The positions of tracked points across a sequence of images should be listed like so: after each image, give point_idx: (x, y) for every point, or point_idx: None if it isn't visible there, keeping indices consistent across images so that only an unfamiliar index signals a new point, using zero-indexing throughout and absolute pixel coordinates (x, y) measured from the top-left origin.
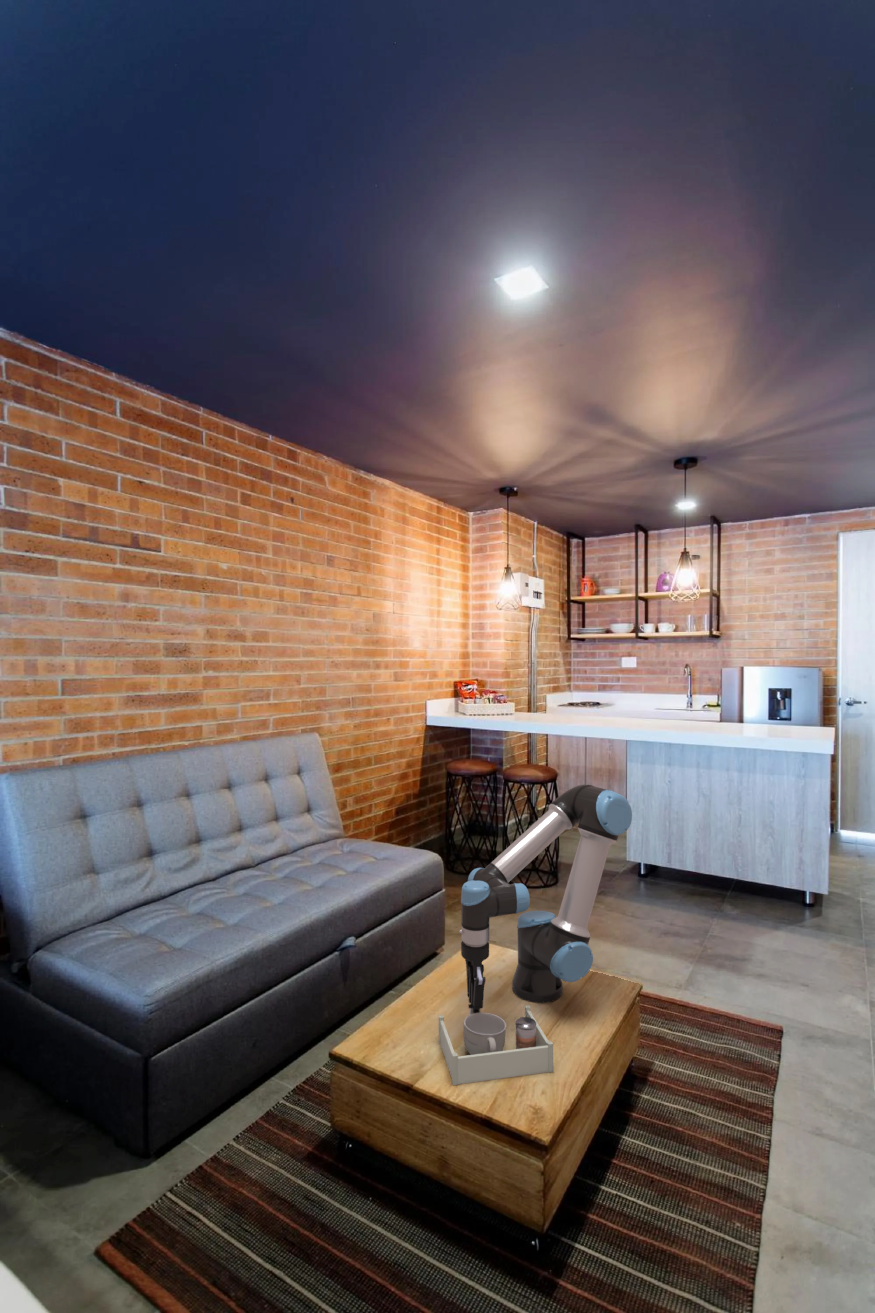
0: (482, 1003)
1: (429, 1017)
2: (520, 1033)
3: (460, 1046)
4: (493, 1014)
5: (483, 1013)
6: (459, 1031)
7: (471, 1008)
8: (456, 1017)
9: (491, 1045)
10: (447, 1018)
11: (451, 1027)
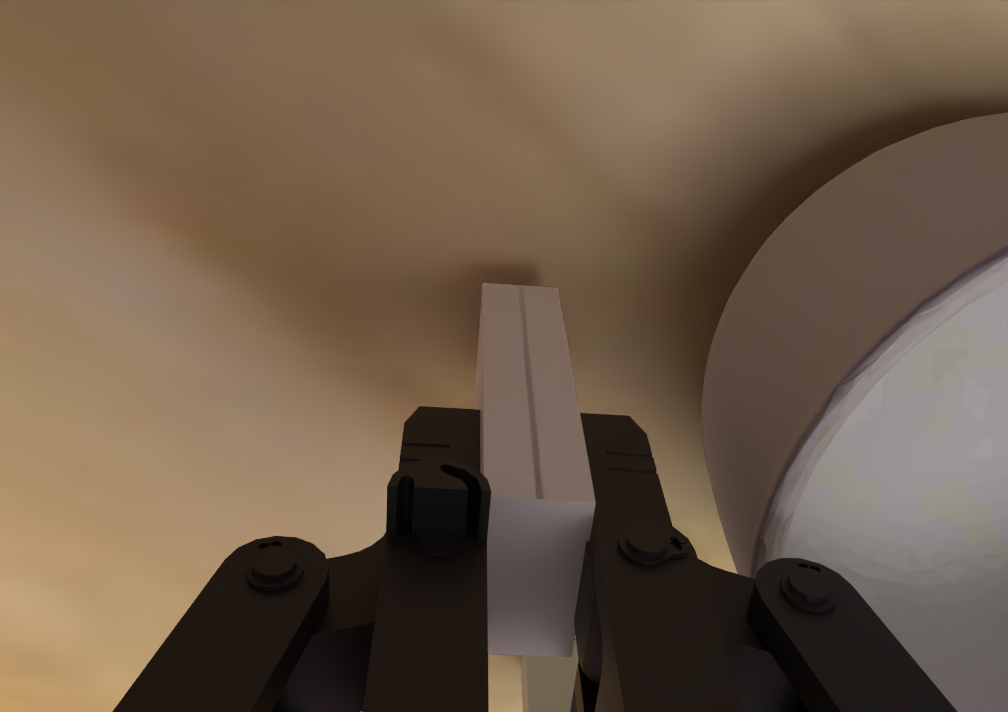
0: (920, 682)
1: (53, 657)
2: None
3: (672, 512)
4: (930, 323)
5: (803, 486)
6: (386, 455)
7: (569, 626)
8: (69, 414)
9: None
10: (86, 508)
11: (286, 511)
